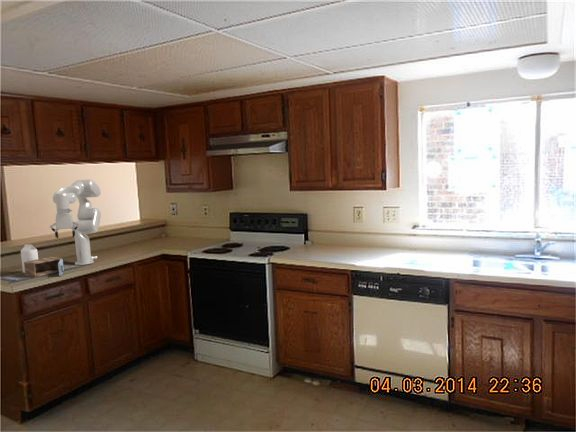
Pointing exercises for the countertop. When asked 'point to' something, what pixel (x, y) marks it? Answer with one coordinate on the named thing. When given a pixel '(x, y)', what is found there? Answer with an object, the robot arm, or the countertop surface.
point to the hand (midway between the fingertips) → (65, 237)
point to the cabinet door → (60, 267)
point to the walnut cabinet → (41, 266)
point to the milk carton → (28, 254)
